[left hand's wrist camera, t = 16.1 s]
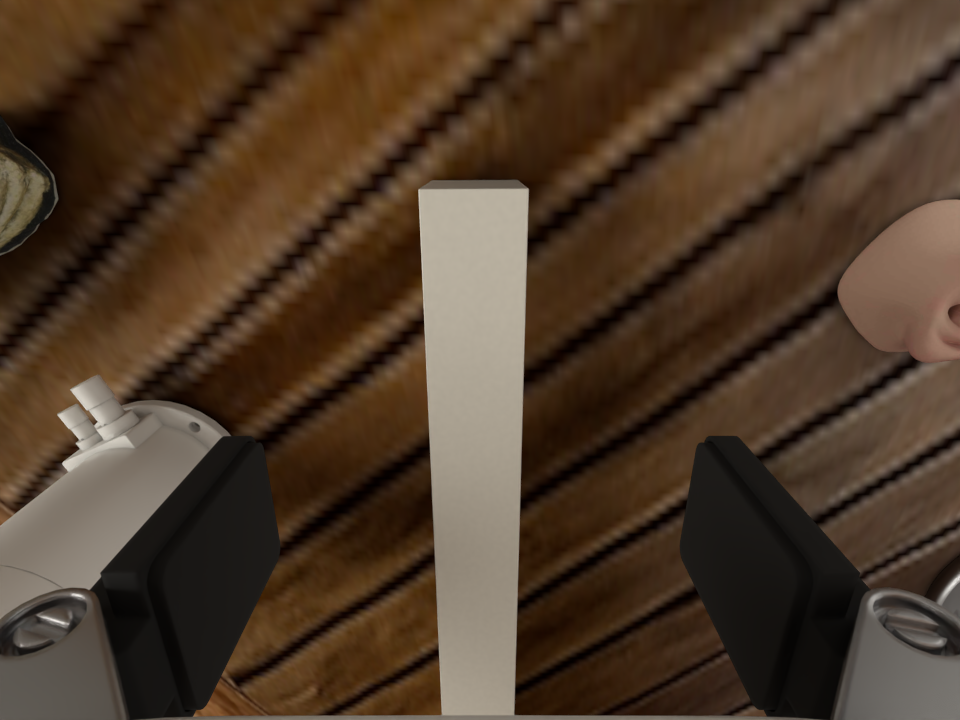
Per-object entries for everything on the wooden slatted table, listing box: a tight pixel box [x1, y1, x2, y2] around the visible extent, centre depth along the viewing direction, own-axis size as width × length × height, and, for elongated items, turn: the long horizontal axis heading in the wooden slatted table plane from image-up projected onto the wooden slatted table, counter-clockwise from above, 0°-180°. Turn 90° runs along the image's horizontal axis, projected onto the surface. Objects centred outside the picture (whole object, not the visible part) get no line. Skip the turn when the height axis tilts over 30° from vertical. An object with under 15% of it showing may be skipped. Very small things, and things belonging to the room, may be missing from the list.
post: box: [418, 180, 529, 715], centre depth 45 cm, size 76×6×8 cm, turn 0°
